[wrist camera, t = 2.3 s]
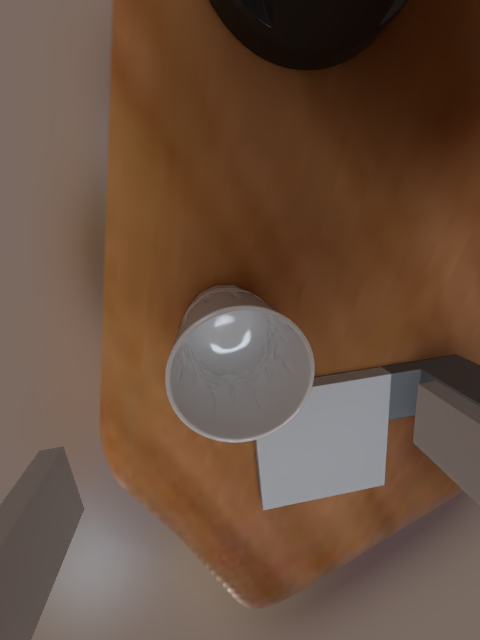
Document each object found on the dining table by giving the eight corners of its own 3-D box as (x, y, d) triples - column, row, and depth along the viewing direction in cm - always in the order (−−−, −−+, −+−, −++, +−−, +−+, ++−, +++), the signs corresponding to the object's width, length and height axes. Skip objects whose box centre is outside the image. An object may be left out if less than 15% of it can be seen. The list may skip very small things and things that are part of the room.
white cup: (165, 289, 23) (144, 328, 14) (260, 266, 24) (304, 288, 14) (191, 375, 26) (188, 459, 16) (277, 353, 26) (323, 421, 17)
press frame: (249, 388, 27) (318, 592, 11) (456, 354, 29) (744, 488, 14) (260, 497, 30) (322, 758, 15) (442, 460, 33) (654, 655, 18)
